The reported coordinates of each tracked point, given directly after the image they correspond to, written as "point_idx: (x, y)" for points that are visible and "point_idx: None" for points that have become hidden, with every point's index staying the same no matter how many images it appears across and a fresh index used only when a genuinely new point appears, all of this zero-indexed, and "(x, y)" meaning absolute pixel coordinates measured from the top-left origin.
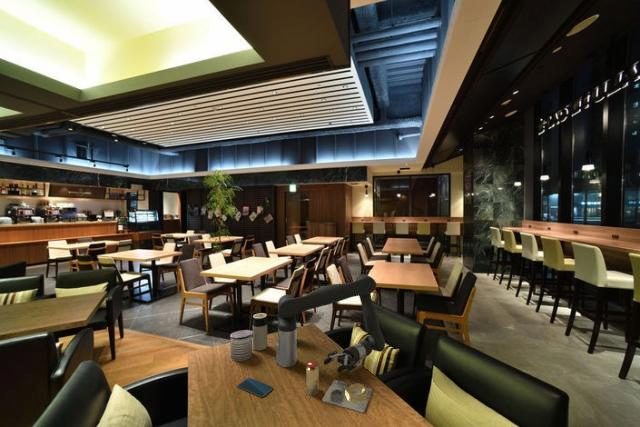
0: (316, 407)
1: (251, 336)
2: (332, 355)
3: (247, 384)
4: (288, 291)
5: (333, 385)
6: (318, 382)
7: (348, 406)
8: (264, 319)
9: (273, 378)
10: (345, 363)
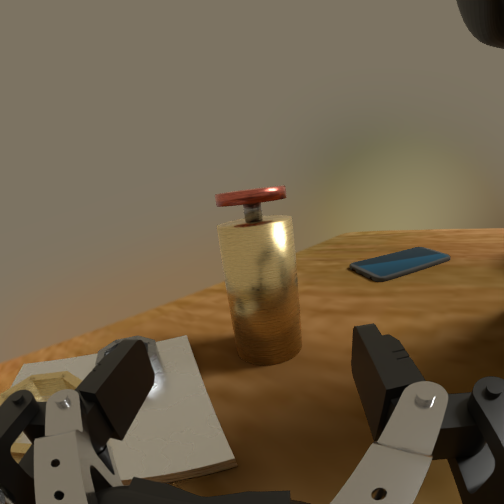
0: (189, 323)
1: None
2: (437, 432)
3: (418, 253)
4: None
5: (194, 414)
6: (231, 308)
7: (74, 357)
8: None
9: (438, 286)
10: (64, 413)
